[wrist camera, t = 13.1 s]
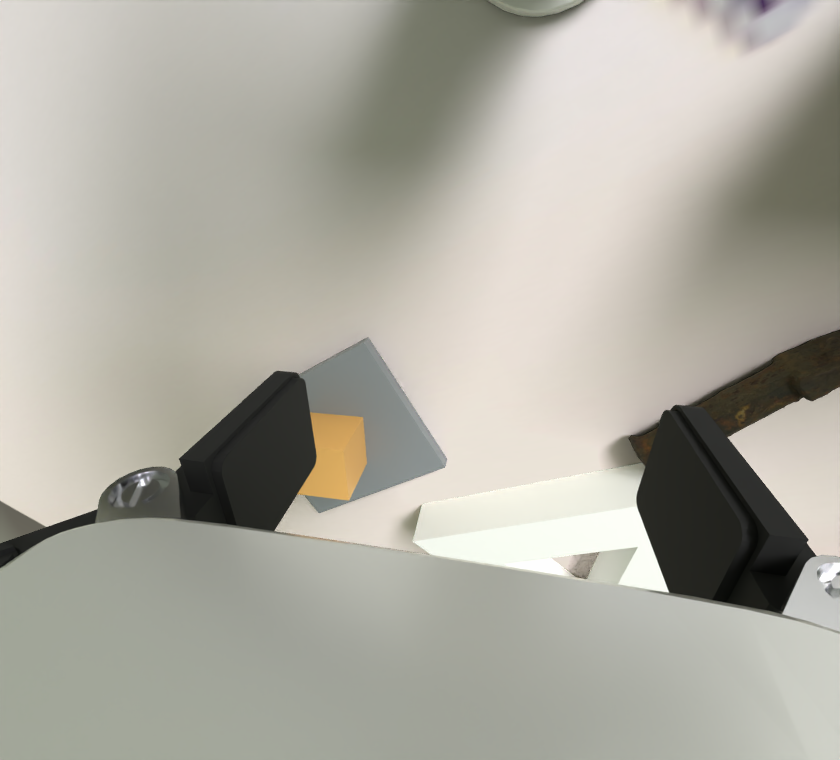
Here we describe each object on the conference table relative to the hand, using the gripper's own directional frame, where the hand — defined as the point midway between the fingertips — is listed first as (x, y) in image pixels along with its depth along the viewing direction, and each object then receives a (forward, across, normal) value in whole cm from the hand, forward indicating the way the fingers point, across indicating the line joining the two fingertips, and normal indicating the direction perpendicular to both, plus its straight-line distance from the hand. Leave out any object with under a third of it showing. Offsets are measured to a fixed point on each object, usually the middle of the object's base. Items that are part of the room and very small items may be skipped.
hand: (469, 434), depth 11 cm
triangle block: (+27, -13, +36) cm, 47 cm away
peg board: (+27, +15, +20) cm, 37 cm away
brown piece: (+28, -21, +12) cm, 37 cm away
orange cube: (+25, +15, +20) cm, 36 cm away
